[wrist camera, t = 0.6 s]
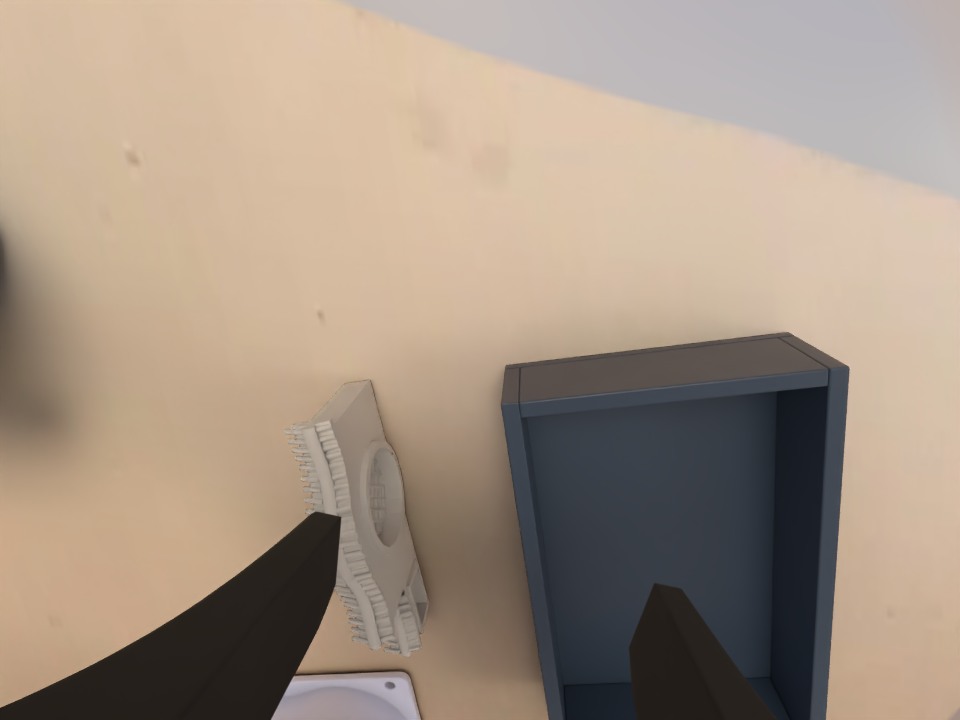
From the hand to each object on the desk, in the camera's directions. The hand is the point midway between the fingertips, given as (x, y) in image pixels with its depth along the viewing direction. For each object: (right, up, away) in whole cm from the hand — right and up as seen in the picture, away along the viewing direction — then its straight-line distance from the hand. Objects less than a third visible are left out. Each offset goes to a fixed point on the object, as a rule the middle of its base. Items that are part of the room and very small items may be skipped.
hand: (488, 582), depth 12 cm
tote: (+7, -3, +11) cm, 14 cm away
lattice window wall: (-4, -1, +12) cm, 13 cm away
